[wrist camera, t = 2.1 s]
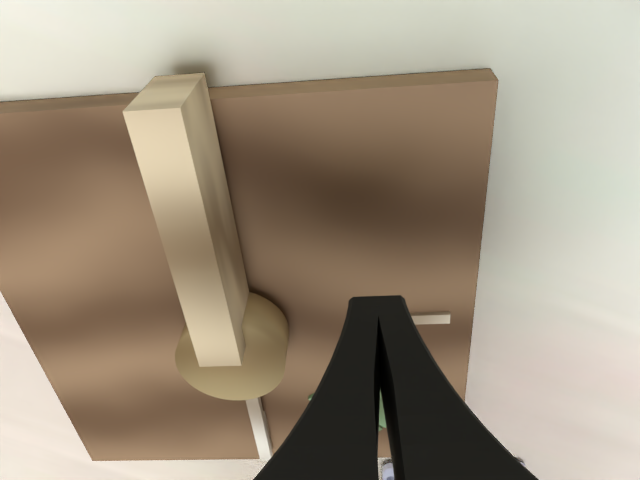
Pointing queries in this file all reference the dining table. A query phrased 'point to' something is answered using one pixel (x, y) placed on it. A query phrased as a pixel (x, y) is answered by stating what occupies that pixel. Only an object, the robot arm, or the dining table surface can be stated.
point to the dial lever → (205, 249)
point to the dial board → (242, 244)
